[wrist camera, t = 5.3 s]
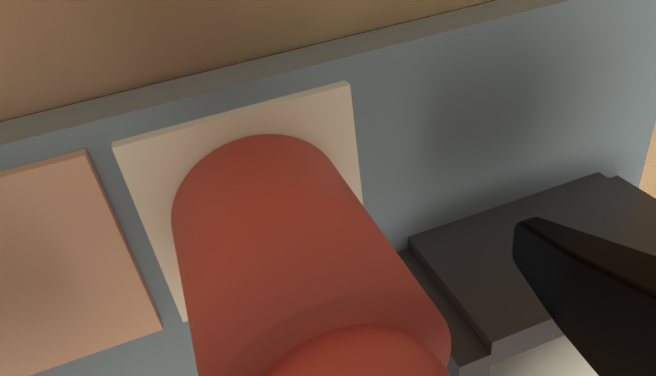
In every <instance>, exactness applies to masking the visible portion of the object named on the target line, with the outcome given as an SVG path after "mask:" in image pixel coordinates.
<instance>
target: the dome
mask: <svg viewBox="0 0 656 376" xmlns="http://www.w3.org/2000/svg"><path fill="white" fill-rule="evenodd" d="M490 376H598V374H597V373H596V372H595V371H594V370H593V368H592V367H591V366H590V365H589V364H588V362H587V361H586V360H585V359H584V358H583V356H582V355H581V354H580V353H579V352H578V350H577V349H576V348H575V347H574V346H573V345H572V343H571V342H570V341H569V340H568V339H567V337H566V336H565V335H564V336H562V337H559V338H557V339H554V340H552V341H550V342H547V343H545V344H542V345H540V346H537V347H535V348H533V349H530V350H528V351H525V352H523V353H521V354H518V355H516V356H513V357H511V358H509V359H506V360H504V361H501V362H499V363H496V364H494V365H492V366H490Z"/></svg>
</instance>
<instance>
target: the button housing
mask: <svg viewBox="0 0 656 376" xmlns="http://www.w3.org/2000/svg"><path fill="white" fill-rule="evenodd" d="M533 216H537V217H541V218H544V219H547V220H550V221H553V222H556V223H559V224H562V225H565V226H568V227H571V228H574V229H577V230H580V231H583V232H586V233H589V234H592V235H595V236H598V237H601V238H604V239H608V240H611V241H614V242H617V243H620V244H623V245H626V246H629V247H632V248H635V249H638V250H641V251H644V252H647V253H650V254H653V255H656V199H655V198H653V197H652V196H650V195H649V194H647V193H645V192H644V191H642V190H641V189H639V188H637V187H636V186H634V185H632V184H631V183H629V182H628V181H626V180H624V179H623V178H621V177H620V176H618V175H617V176H615V177H612V178H607V177H606V176H604V175H603V174H601V173H600V172H597V173H594V174H591V175H588V176H585V177H582V178H579V179H576V180H573V181H570V182H568V183H565V184H562V185H559V186H556V187H553V188H550V189H547V190H544V191H541V192H538V193H535V194H532V195H529V196H527V197H524V198H521V199H518V200H515V201H512V202H509V203H506V204H503V205H500V206H497V207H494V208H491V209H488V210H486V211H483V212H480V213H477V214H474V215H471V216H468V217H465V218H462V219H459V220H456V221H453V222H450V223H447V224H445V225H442V226H439V227H436V228H433V229H430V230H427V231H424V232H421V233H418V234H415V235H412V236H409V237H408V248H407V249H404V250H401V251H398V252H397V254H398V255H399V256H400V258H401V259H402V260H403V262H404V263H405V265H406V266H407V267H408V269H409V270H410V272H411V273H412V274H413V276H414V277H415V278H416V280H417V281H418V283H419V284H420V285H421V287H422V288H423V290H424V291H425V292H426V294H427V295H428V297H429V298H430V299H431V301H432V302H433V303H434V305H435V306H436V308H437V309H438V310H439V312H440V313H441V315H442V316H443V317H444V319H445V320H446V323H447V325H448V327H449V331H450V336H451V352H450V358H449V361H448V364H447V368H446V369H447V371H448V372H449V373H450V375H451V376H490V366H492V365H494V364H496V363H499V362H501V361H504V360H506V359H509V358H511V357H513V356H516V355H518V354H521V353H523V352H525V351H528V350H530V349H533V348H535V347H537V346H540V345H542V344H545V343H547V342H550V341H552V340H554V339H557V338H559V337H562V336H564V334H563V332H562V331H561V330H560V329H559V327H558V326H557V325H556V323H555V322H554V321H553V319H552V318H551V316H550V315H549V314H548V312H547V311H546V309H545V308H544V306H543V305H542V303H541V302H540V300H539V299H538V297H537V296H536V294H535V293H534V291H533V290H532V288H531V287H530V285H529V284H528V282H527V281H526V279H525V278H524V276H523V275H522V274H521V272H520V271H519V269H518V268H517V266H516V264H515V262H514V260H513V257H512V246H513V235H514V227H515V225H516V223H517V222H518V221H521V220H524V219H527V218H529V217H533Z"/></svg>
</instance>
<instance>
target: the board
mask: <svg viewBox="0 0 656 376" xmlns="http://www.w3.org/2000/svg"><path fill="white" fill-rule="evenodd" d="M655 119H656V0H495V1H491V2H487V3H483V4H479V5H475V6H471V7H467V8H463V9H458V10H454V11H450V12H446V13H442V14H438V15H434V16H430V17H426V18H422V19H418V20H414V21H410V22H406V23H401V24H397V25H393V26H389V27H385V28H381V29H377V30H373V31H369V32H365V33H361V34H357V35H353V36H349V37H344V38H340V39H336V40H332V41H328V42H324V43H320V44H316V45H312V46H308V47H304V48H300V49H296V50H291V51H287V52H283V53H279V54H275V55H271V56H267V57H263V58H259V59H255V60H251V61H247V62H243V63H239V64H234V65H230V66H226V67H222V68H218V69H214V70H210V71H206V72H202V73H198V74H194V75H190V76H186V77H182V78H177V79H173V80H169V81H165V82H161V83H157V84H153V85H149V86H145V87H141V88H137V89H133V90H129V91H125V92H120V93H116V94H112V95H108V96H104V97H100V98H96V99H92V100H88V101H84V102H80V103H76V104H72V105H67V106H63V107H59V108H55V109H51V110H47V111H43V112H39V113H35V114H31V115H27V116H23V117H19V118H15V119H10V120H6V121H2V122H0V376H198V371H197V366H196V360H195V355H194V349H193V344H192V338H191V333H190V327H189V322H188V316H187V311H186V305H185V300H184V294H183V289H182V283H181V278H180V272H179V267H178V261H177V256H176V250H175V245H174V239H173V234H172V228H171V212H172V205H173V202H174V198H175V195H176V193H177V191H178V189H179V186H180V185H181V183H182V182H183V180H184V178H185V177H186V176H187V174H188V173H189V172H190V171H191V169H192V168H193V167H194V166H195V165H196V164H197V163H198V162H199V161H201V160H202V159H203V158H204V157H206V156H207V155H208V154H210V153H211V152H212V151H214V150H216V149H218V148H219V147H221V146H223V145H225V144H228V143H230V142H232V141H235V140H238V139H241V138H245V137H249V136H254V135H262V134H278V135H286V136H291V137H295V138H298V139H301V140H304V141H306V142H308V143H310V144H312V145H314V146H315V147H317V148H318V149H319V150H321V151H322V152H323V153H324V154H325V155H326V156H327V157H328V158H329V159H330V161H331V162H332V163H333V165H334V166H335V168H336V169H337V170H338V172H339V173H340V174H341V176H342V177H343V179H344V180H345V181H346V183H347V184H348V186H349V187H350V188H351V190H352V191H353V193H354V194H355V195H356V197H357V198H358V199H359V201H360V202H361V204H362V205H363V206H364V208H365V209H366V211H367V212H368V213H369V215H370V216H371V217H372V219H373V220H374V222H375V223H376V224H377V226H378V227H379V229H380V230H381V231H382V233H383V234H384V236H385V237H386V238H387V240H388V241H389V242H390V244H391V245H392V247H393V248H394V249H395V251H396V252H398V251H401V250H404V249H407V248H408V237H409V236H412V235H415V234H418V233H421V232H424V231H427V230H430V229H433V228H436V227H439V226H442V225H445V224H447V223H450V222H453V221H456V220H459V219H462V218H465V217H468V216H471V215H474V214H477V213H480V212H483V211H486V210H488V209H491V208H494V207H497V206H500V205H503V204H506V203H509V202H512V201H515V200H518V199H521V198H524V197H527V196H529V195H532V194H535V193H538V192H541V191H544V190H547V189H550V188H553V187H556V186H559V185H562V184H565V183H568V182H570V181H573V180H576V179H579V178H582V177H585V176H588V175H591V174H594V173H597V172H600V173H601V174H603V175H604V176H606V177H607V178H612V177H615V176H617V175H618V176H620V177H621V178H623V179H624V180H626V181H628V182H629V183H631V184H632V185H634V186H636V187H637V188H639V184H640V180H641V176H642V172H643V168H644V164H645V160H646V156H647V152H648V148H649V144H650V140H651V136H652V131H653V127H654V123H655Z"/></svg>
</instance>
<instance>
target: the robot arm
mask: <svg viewBox="0 0 656 376" xmlns="http://www.w3.org/2000/svg"><path fill="white" fill-rule="evenodd" d="M512 257H513V260H514V262H515V264H516V266H517V268H518V269H519V271H520V272H521V274H522V275H523V276H524V278H525V279H526V281H527V282H528V284H529V285H530V287H531V288H532V290H533V291H534V293H535V294H536V296H537V297H538V299H539V300H540V302H541V303H542V305H543V306H544V308H545V309H546V311H547V312H548V314H549V315H550V316H551V318H552V319H553V321H554V322H555V323H556V325H557V326H558V327H559V329H560V330H561V331H562V332H563V334H564V335H565V336H566V337H567V339H568V340H569V341H570V342H571V343H572V345H573V346H574V347H575V348H576V349H577V350H578V352H579V353H580V354H581V355H582V356H583V358H584V359H585V360H586V361H587V362H588V364H589V365H590V366H591V367H592V368H593V370H594V371H595V372H596V373H597V374H598V376H656V255H653V254H650V253H647V252H644V251H641V250H638V249H635V248H632V247H629V246H626V245H623V244H620V243H617V242H614V241H611V240H608V239H604V238H601V237H598V236H595V235H592V234H589V233H586V232H583V231H580V230H577V229H574V228H571V227H568V226H565V225H562V224H559V223H556V222H553V221H550V220H547V219H544V218H541V217H537V216H533V217H529V218H527V219H524V220H521V221H518V222H517V223H516V225H515V227H514V235H513V246H512Z"/></svg>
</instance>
